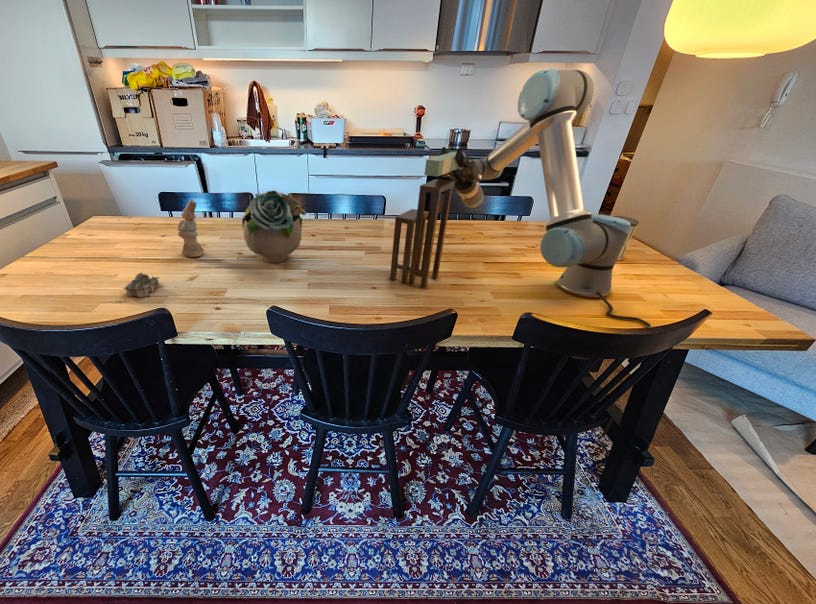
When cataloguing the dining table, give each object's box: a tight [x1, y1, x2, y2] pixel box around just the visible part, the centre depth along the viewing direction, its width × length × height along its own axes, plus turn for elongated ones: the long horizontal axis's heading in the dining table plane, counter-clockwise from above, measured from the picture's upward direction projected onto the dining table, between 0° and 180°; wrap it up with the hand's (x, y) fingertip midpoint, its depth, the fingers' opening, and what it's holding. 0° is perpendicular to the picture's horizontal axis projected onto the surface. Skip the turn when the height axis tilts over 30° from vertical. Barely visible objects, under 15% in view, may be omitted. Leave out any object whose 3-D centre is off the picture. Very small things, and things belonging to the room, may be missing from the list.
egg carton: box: [122, 271, 161, 298], centre depth 126 cm, size 11×8×4 cm
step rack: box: [389, 178, 455, 289], centre depth 128 cm, size 12×13×31 cm
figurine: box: [177, 199, 204, 258], centre depth 148 cm, size 9×8×20 cm
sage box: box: [424, 151, 466, 177], centre depth 117 cm, size 20×4×4 cm, turn 145°
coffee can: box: [611, 215, 640, 261], centre depth 152 cm, size 10×10×14 cm
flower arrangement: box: [241, 189, 307, 263], centre depth 144 cm, size 25×25×24 cm
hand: (450, 152), depth 117 cm, fingers closed on sage box, 4 cm apart
